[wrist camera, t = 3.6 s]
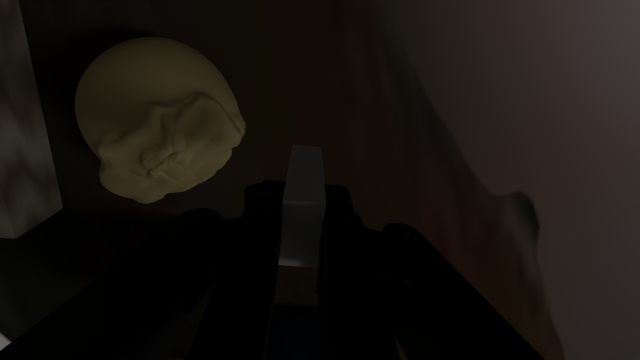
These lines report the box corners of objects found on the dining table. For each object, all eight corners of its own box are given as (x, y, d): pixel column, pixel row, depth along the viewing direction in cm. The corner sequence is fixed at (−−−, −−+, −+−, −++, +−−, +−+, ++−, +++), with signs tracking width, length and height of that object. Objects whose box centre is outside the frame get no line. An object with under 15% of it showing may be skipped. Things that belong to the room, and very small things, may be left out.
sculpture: (185, 186, 34) (132, 243, 24) (96, 88, 30) (-12, 108, 20) (272, 125, 32) (254, 160, 22) (188, 12, 28) (120, -9, 18)
